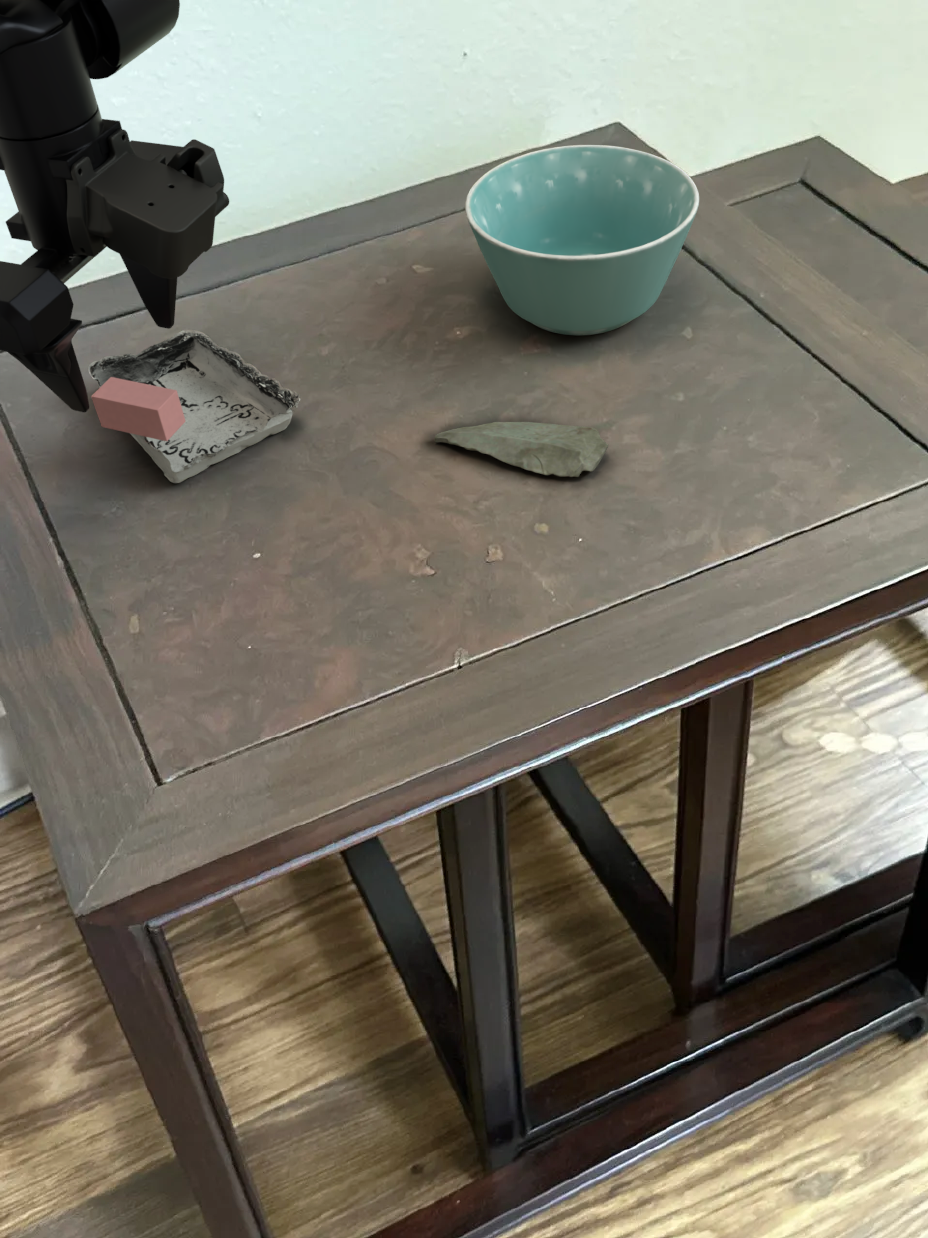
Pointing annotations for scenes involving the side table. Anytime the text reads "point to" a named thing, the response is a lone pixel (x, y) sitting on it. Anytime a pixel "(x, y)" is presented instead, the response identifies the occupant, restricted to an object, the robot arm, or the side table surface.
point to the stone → (533, 445)
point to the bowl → (582, 233)
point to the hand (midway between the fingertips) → (125, 366)
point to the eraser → (138, 408)
